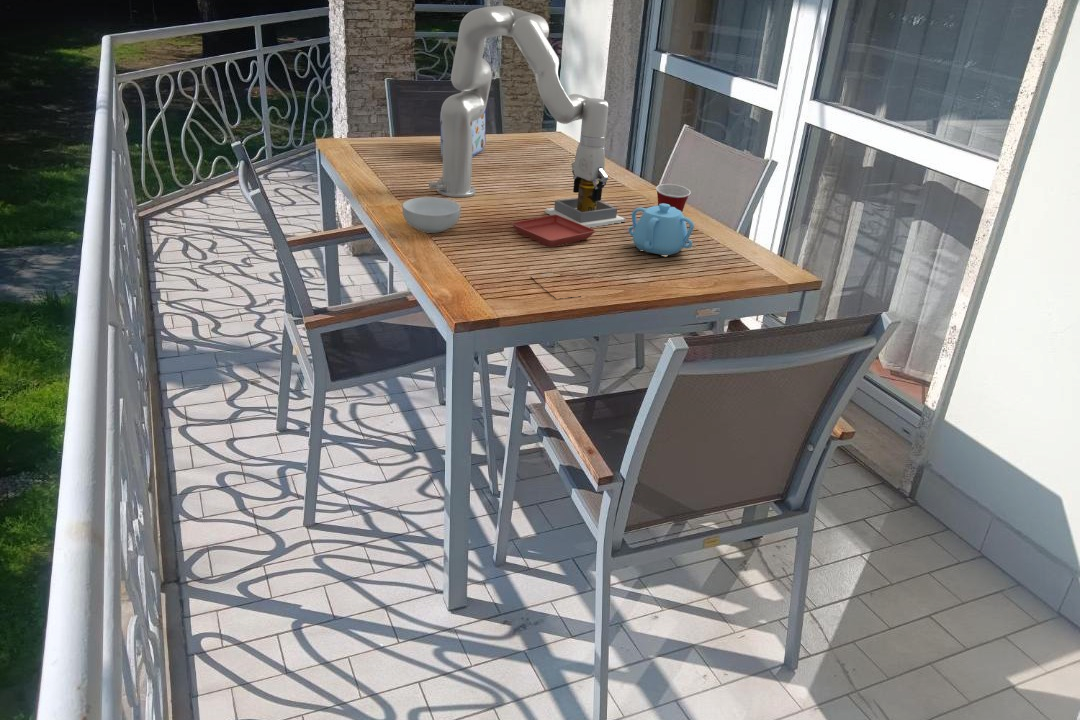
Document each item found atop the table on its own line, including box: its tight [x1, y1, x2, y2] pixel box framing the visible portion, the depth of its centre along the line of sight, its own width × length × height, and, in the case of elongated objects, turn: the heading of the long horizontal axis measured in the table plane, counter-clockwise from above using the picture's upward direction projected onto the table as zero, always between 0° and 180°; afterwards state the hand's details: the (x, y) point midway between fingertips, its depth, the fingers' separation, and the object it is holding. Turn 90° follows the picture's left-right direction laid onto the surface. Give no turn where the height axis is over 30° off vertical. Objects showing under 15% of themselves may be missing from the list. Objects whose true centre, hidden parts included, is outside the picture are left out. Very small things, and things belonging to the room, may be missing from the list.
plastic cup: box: [655, 183, 692, 213], centre depth 268 cm, size 11×11×12 cm
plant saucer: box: [511, 215, 596, 248], centre depth 253 cm, size 18×18×3 cm
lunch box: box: [439, 108, 487, 159], centre depth 325 cm, size 28×10×22 cm, turn 162°
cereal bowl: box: [401, 196, 461, 234], centre depth 250 cm, size 17×17×7 cm
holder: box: [545, 197, 626, 228], centre depth 271 cm, size 18×18×4 cm
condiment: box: [577, 178, 599, 212], centre depth 269 cm, size 7×8×12 cm
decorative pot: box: [628, 203, 695, 256], centre depth 246 cm, size 16×16×14 cm
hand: (586, 196), depth 269 cm, fingers open, 9 cm apart
